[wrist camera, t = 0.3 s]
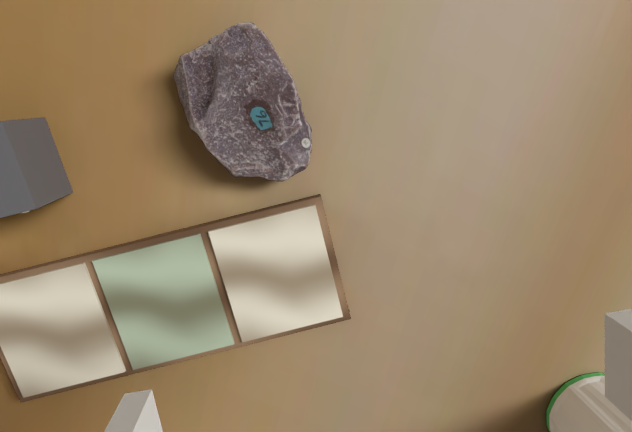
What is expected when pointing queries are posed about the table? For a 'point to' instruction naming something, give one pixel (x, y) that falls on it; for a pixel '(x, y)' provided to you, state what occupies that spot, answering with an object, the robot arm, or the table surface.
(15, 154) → the die
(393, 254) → the table surface
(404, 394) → the table surface
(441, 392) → the table surface
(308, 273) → the board
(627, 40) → the table surface
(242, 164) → the rock
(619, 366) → the robot arm
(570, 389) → the cup
